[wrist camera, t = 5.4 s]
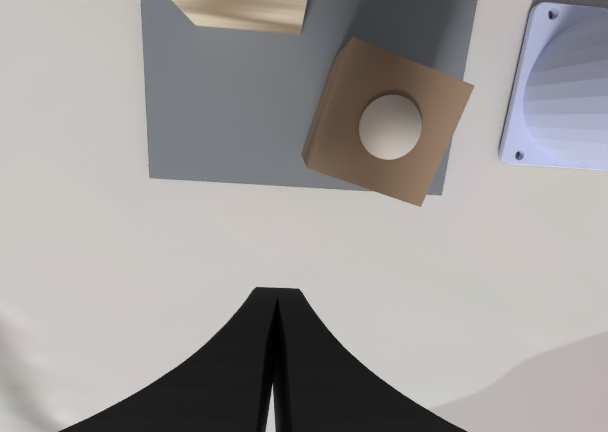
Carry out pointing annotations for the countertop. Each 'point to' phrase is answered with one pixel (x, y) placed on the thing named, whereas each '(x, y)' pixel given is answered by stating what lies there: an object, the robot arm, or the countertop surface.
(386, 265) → the countertop surface
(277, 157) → the slate mat
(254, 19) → the maple block
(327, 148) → the walnut block
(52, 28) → the countertop surface
